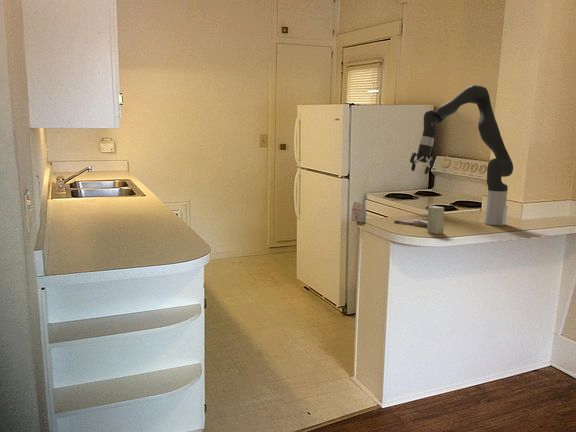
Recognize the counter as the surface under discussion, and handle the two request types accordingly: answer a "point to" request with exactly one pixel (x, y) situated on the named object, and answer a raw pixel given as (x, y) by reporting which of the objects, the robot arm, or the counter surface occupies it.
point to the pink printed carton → (358, 212)
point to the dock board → (413, 221)
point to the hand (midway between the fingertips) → (419, 172)
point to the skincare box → (435, 219)
